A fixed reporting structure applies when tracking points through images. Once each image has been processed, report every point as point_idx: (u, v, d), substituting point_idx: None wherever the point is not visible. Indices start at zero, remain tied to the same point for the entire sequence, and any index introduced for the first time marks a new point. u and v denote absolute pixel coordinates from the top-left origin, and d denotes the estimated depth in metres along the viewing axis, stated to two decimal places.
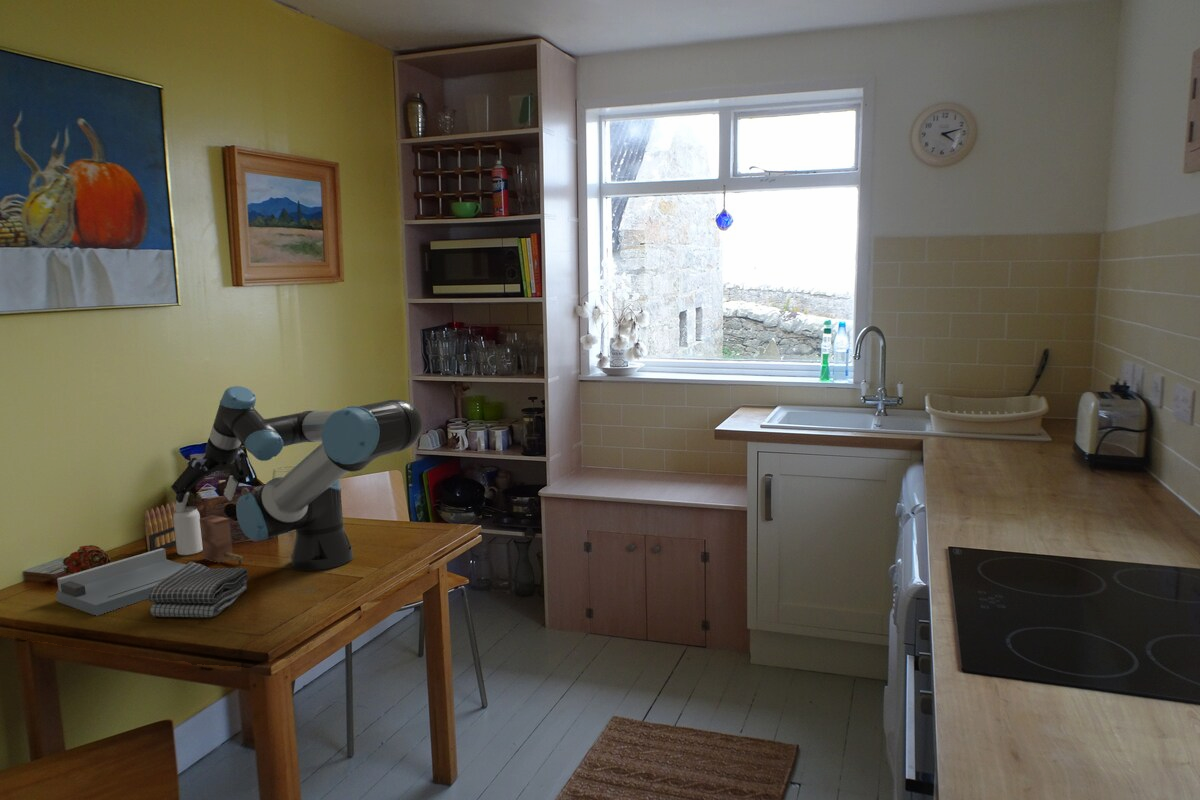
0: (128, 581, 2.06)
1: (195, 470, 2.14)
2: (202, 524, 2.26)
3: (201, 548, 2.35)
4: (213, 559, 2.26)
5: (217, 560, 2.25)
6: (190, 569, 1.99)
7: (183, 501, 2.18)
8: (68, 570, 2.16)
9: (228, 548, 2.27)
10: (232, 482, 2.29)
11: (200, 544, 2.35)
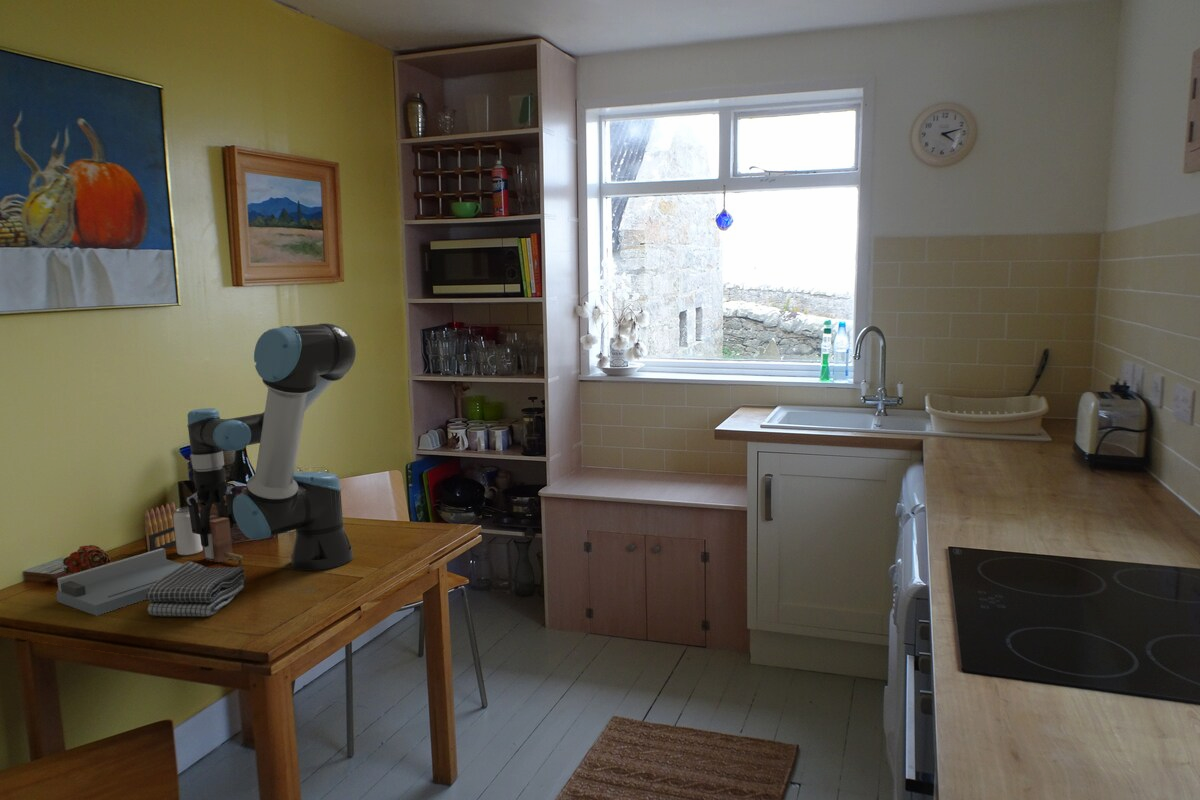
0: (128, 581, 2.06)
1: (194, 506, 2.21)
2: None
3: (201, 548, 2.35)
4: (213, 559, 2.26)
5: (217, 560, 2.25)
6: (187, 569, 2.00)
7: (209, 544, 2.25)
8: (68, 570, 2.16)
9: (228, 548, 2.27)
10: None
11: (200, 544, 2.35)
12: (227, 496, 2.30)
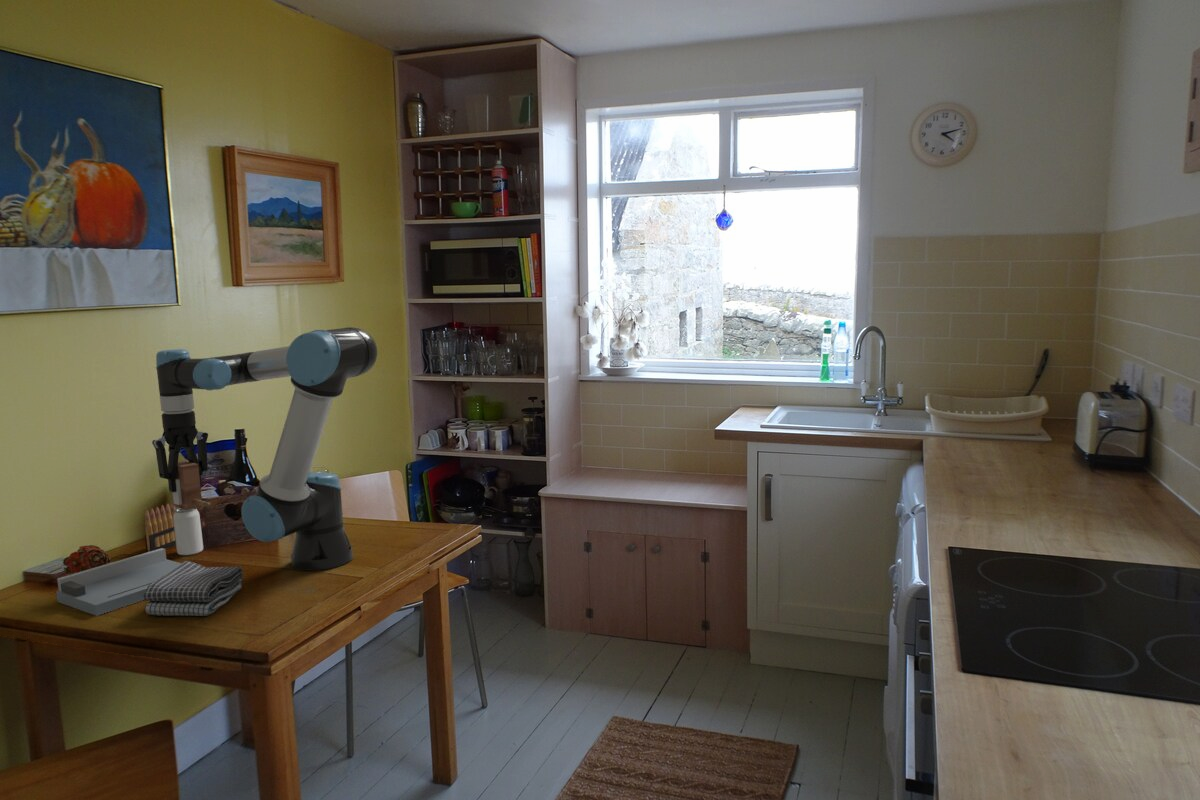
0: (128, 581, 2.06)
1: (161, 449, 2.14)
2: None
3: (201, 548, 2.35)
4: (181, 505, 2.19)
5: (185, 506, 2.18)
6: (185, 568, 2.00)
7: (177, 489, 2.18)
8: (68, 570, 2.16)
9: (197, 494, 2.19)
10: None
11: (200, 544, 2.35)
12: (198, 442, 2.23)
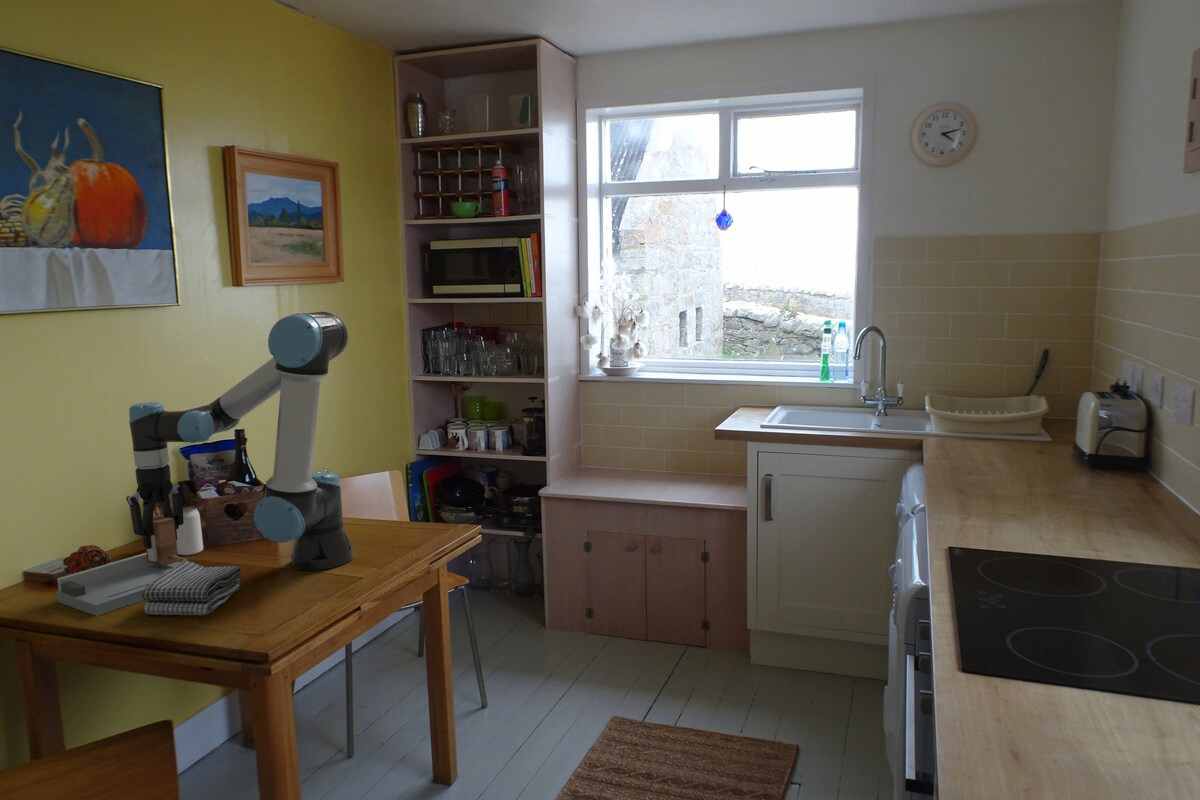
0: (128, 581, 2.06)
1: (135, 505, 2.08)
2: None
3: (201, 548, 2.35)
4: (156, 562, 2.14)
5: (160, 563, 2.13)
6: (184, 568, 2.01)
7: (152, 546, 2.12)
8: (68, 570, 2.16)
9: (173, 550, 2.14)
10: None
11: (200, 544, 2.35)
12: (173, 495, 2.18)
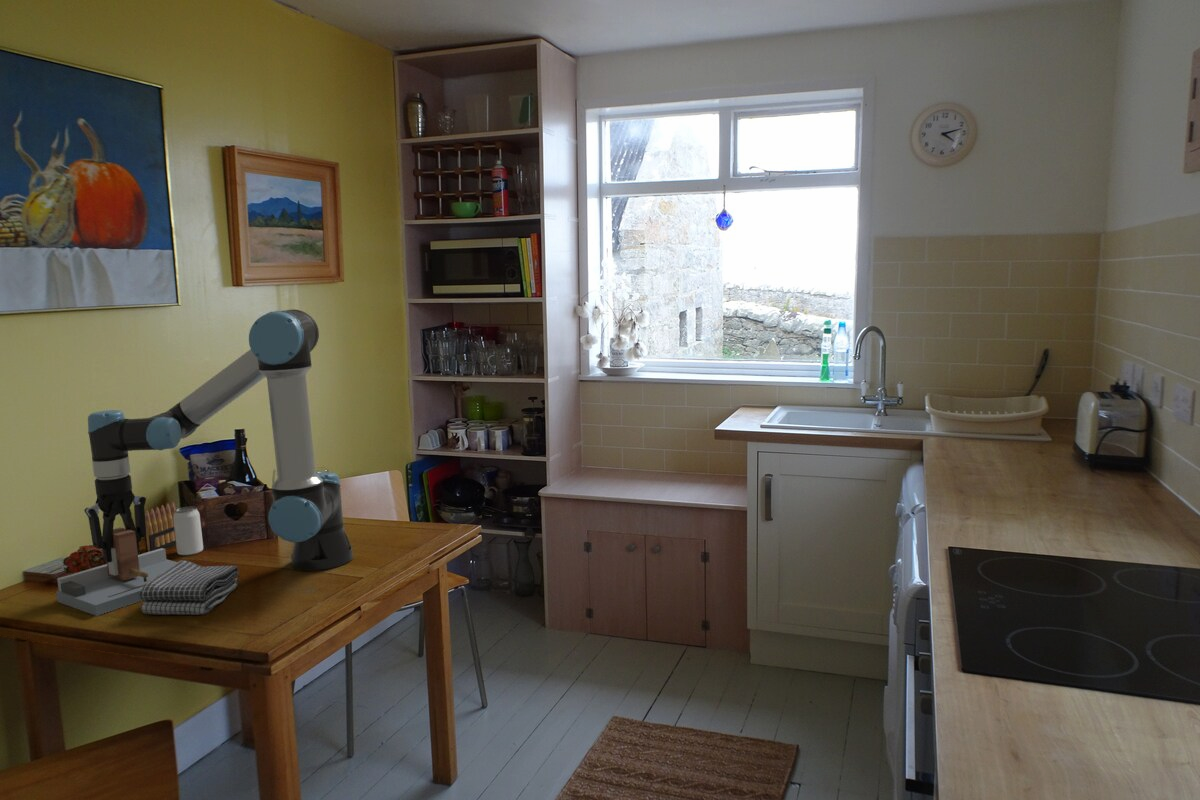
0: (128, 581, 2.06)
1: (94, 517, 2.01)
2: None
3: (201, 548, 2.35)
4: (117, 576, 2.06)
5: (121, 577, 2.05)
6: (181, 567, 2.01)
7: (112, 559, 2.05)
8: (68, 570, 2.16)
9: (134, 564, 2.07)
10: None
11: (200, 544, 2.35)
12: (135, 506, 2.10)
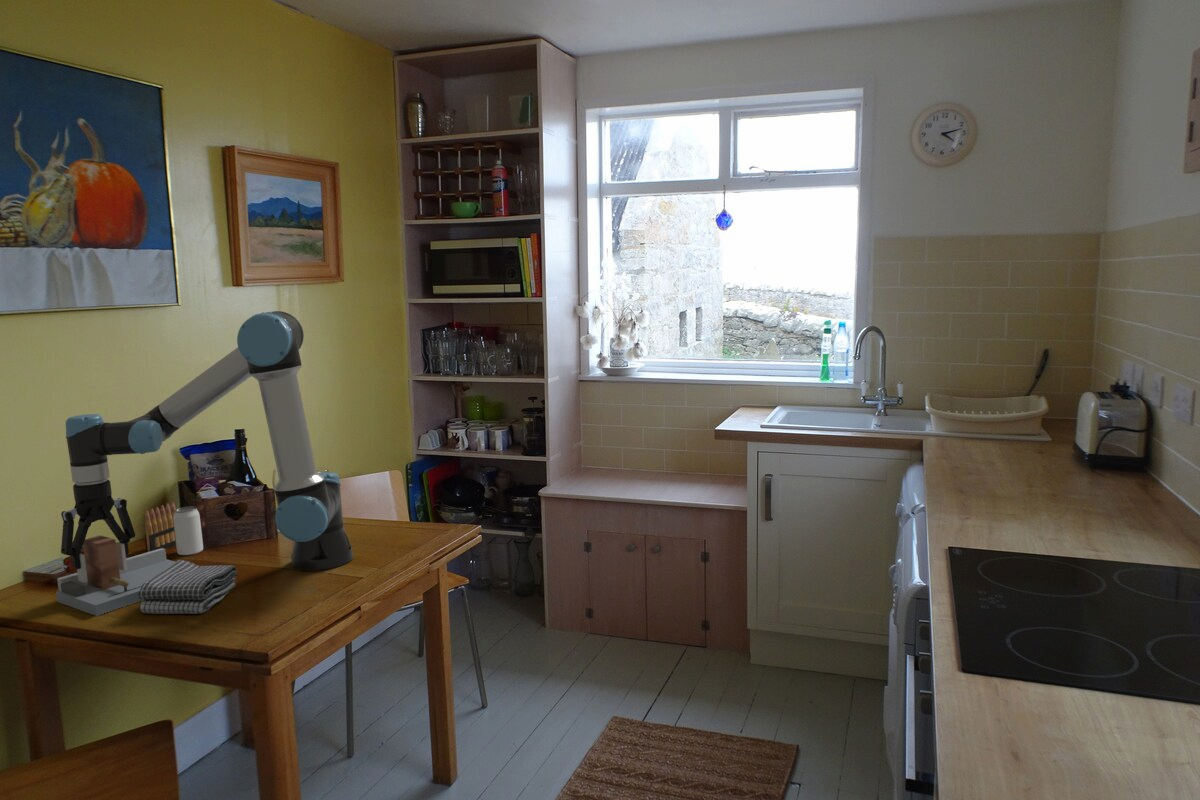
0: (128, 581, 2.06)
1: (69, 521, 1.96)
2: (86, 546, 2.02)
3: (201, 548, 2.35)
4: (97, 585, 2.02)
5: (101, 586, 2.01)
6: (179, 567, 2.01)
7: (81, 566, 1.99)
8: (68, 570, 2.16)
9: (114, 572, 2.03)
10: (119, 547, 2.06)
11: (200, 544, 2.35)
12: (117, 510, 2.07)
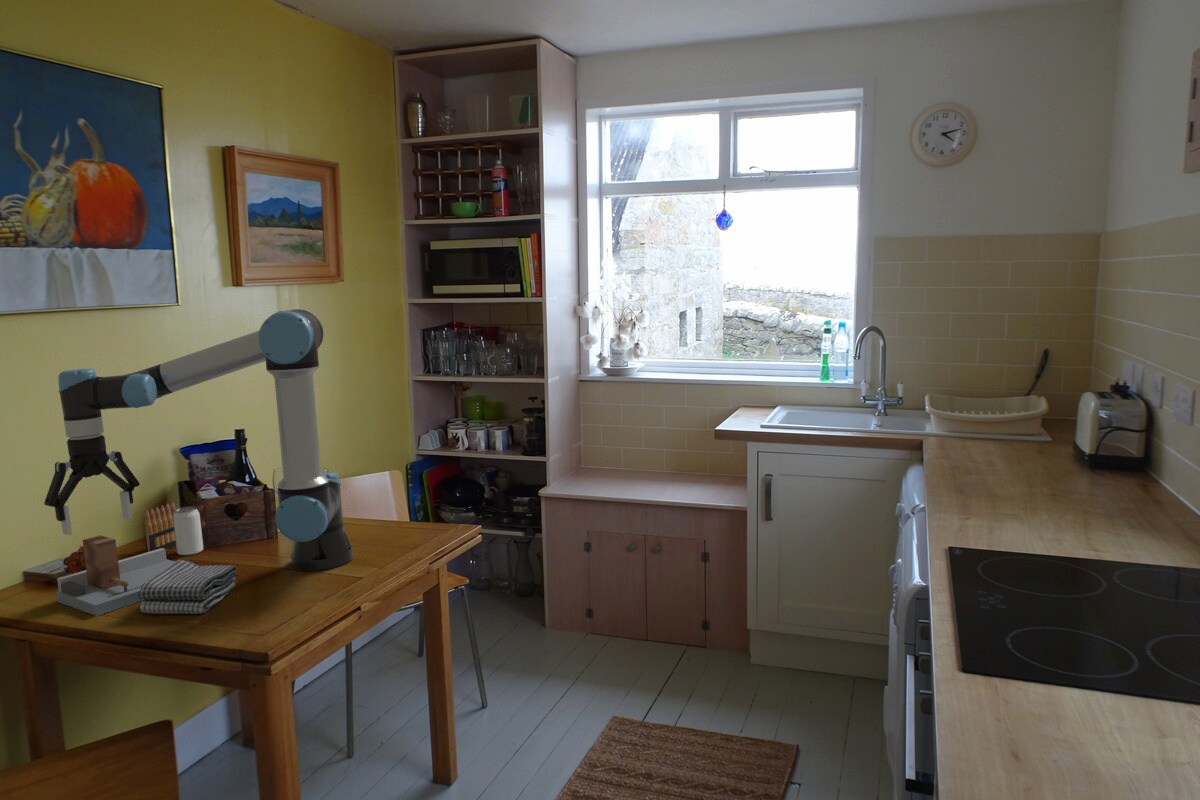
0: (128, 581, 2.06)
1: (61, 472, 1.94)
2: (86, 546, 2.02)
3: (201, 548, 2.35)
4: (97, 585, 2.02)
5: (101, 586, 2.01)
6: (179, 567, 2.01)
7: (65, 518, 1.95)
8: (68, 570, 2.16)
9: (114, 572, 2.03)
10: (123, 495, 2.06)
11: (200, 544, 2.35)
12: (115, 462, 2.05)
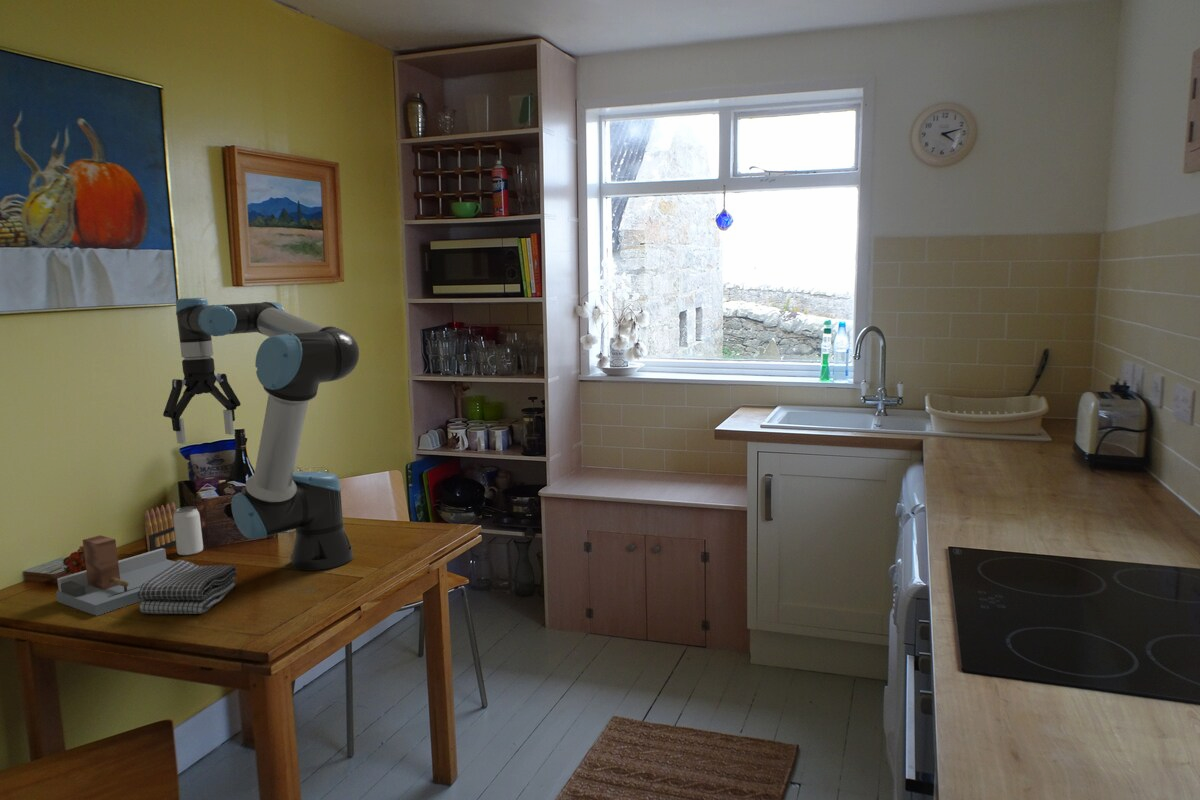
0: (128, 581, 2.06)
1: (178, 388, 2.19)
2: (86, 546, 2.02)
3: (201, 548, 2.35)
4: (97, 585, 2.02)
5: (101, 586, 2.01)
6: (179, 567, 2.01)
7: (180, 428, 2.20)
8: (68, 570, 2.16)
9: (114, 572, 2.03)
10: (227, 413, 2.31)
11: (200, 544, 2.35)
12: (220, 383, 2.30)
